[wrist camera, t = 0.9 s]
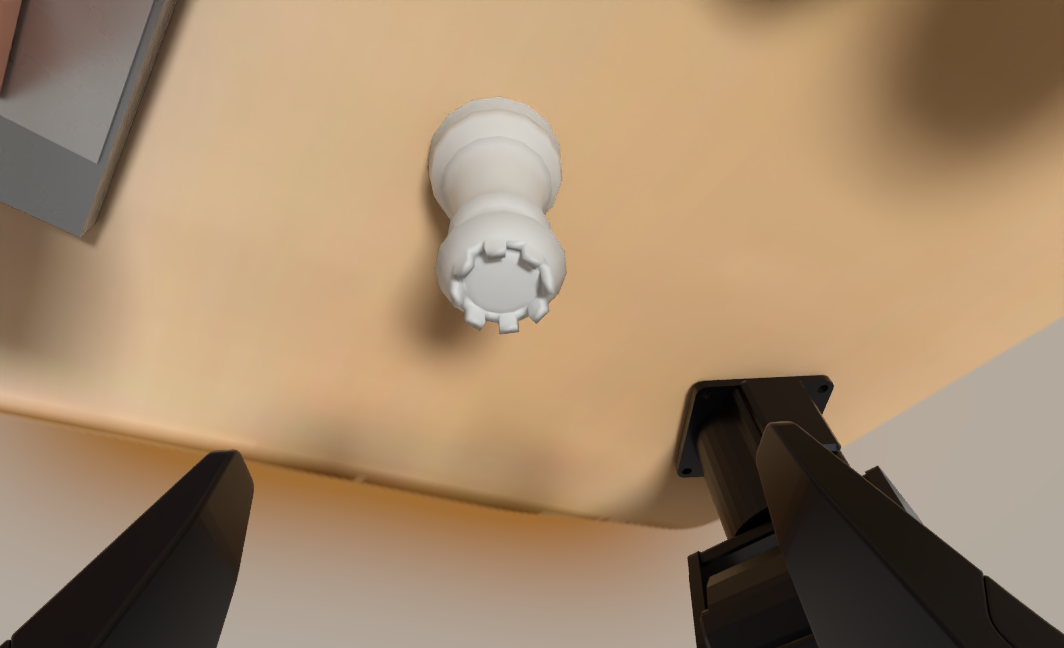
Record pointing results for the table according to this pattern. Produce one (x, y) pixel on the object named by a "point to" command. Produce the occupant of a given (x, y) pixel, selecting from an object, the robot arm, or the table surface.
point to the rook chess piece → (497, 212)
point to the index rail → (73, 102)
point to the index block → (7, 31)
